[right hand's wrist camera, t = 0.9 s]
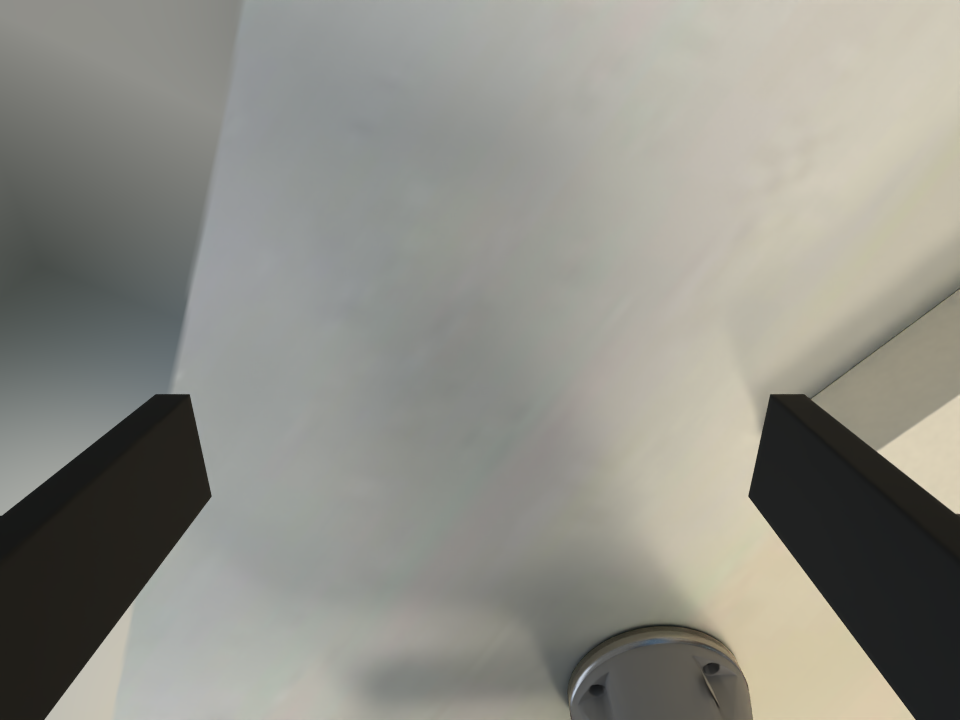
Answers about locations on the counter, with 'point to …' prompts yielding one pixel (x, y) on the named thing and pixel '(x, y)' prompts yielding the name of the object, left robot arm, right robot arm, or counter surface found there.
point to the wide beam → (910, 401)
